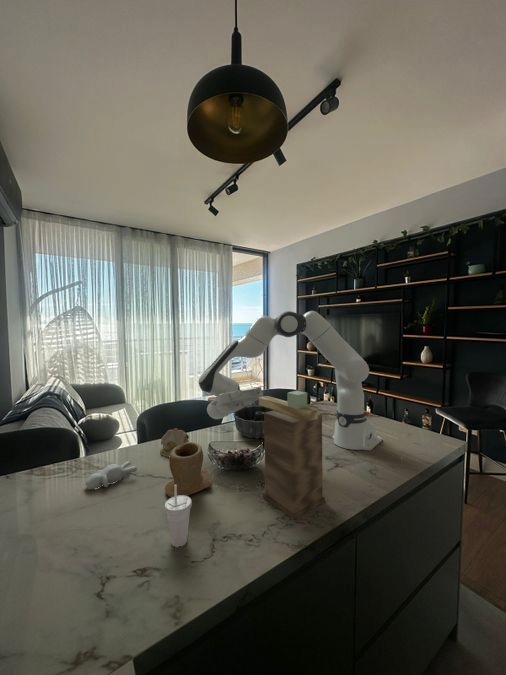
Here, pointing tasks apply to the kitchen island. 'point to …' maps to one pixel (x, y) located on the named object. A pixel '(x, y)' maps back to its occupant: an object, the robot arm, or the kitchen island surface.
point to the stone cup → (187, 470)
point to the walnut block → (293, 462)
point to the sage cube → (297, 399)
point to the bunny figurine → (109, 475)
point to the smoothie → (178, 517)
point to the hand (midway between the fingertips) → (250, 390)
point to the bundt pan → (251, 421)
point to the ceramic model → (173, 440)
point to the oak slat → (288, 408)
